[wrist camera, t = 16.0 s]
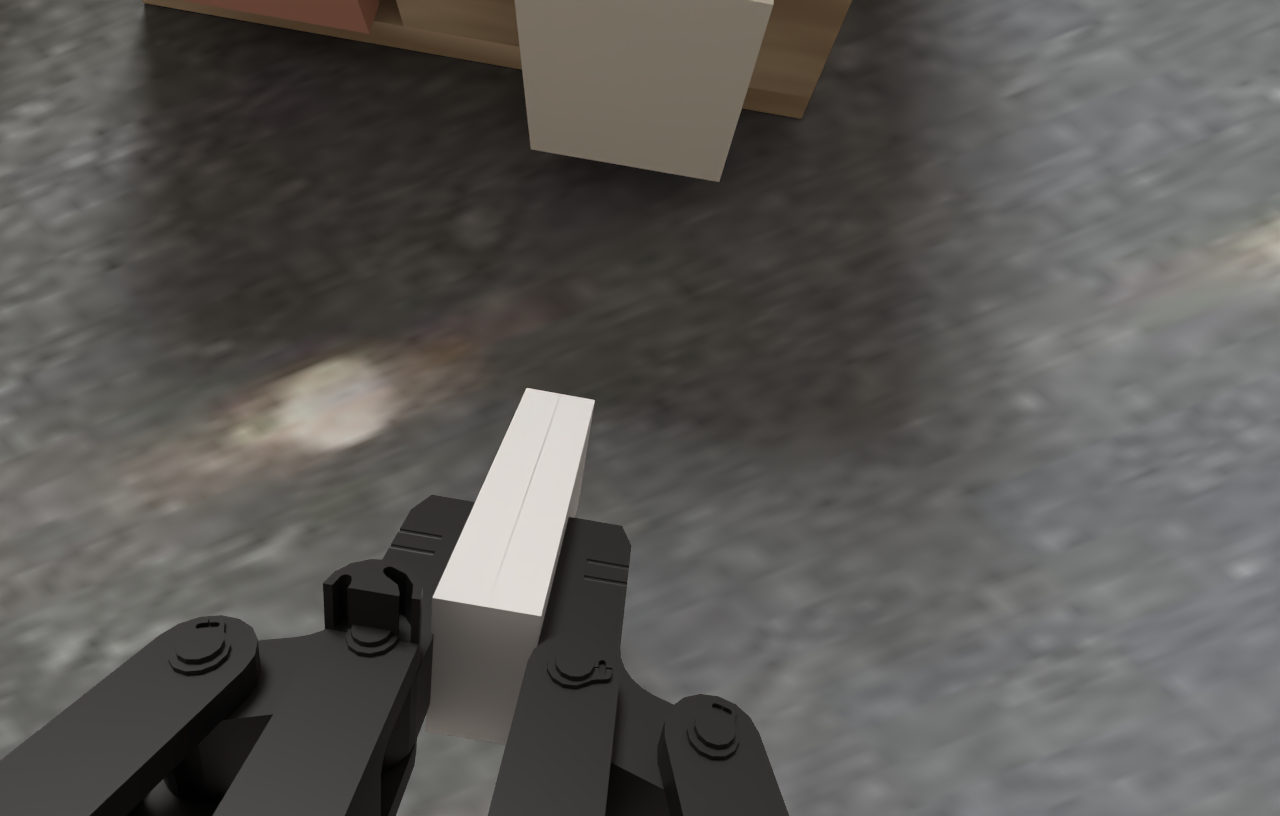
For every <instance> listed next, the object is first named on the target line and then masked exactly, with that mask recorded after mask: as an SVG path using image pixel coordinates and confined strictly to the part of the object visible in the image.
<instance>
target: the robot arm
mask: <svg viewBox="0 0 1280 816" xmlns="http://www.w3.org/2000/svg"><path fill="white" fill-rule="evenodd" d="M594 403H595V400H592V399H586V398H581V397H575V396H570V395H564V394H558V393H553V392H547V391H542V390H536V389H530V388H526V390H525V392H524V395H523V397H522V399H521V401H520V404H519V406H518V408H517V410H516V412H515V415H514V417H513V419H512V421H511V424H510V426H509V428H508V430H507V433H506V435H505V437H504V439H503V441H502V444H501V446H500V448H499V450H498V453H497V455H496V457H495V459H494V462H493V464H492V466H491V468H490V470H489V473H488V475H487V477H486V479H485V482H484V484H483V486H482V488H481V491H480V493H479V495H478V497H477V499H476V502H470V501H464V500H458V499H452V498H447V497H441V496H435V495H431V496H430V497H428V498H427V499H426V500H424V501H423V502H421V503H420V504H418V505H417V506H416V507H414V508H413V509H411V511H410V513H409V514H408V516H407V518H406V519H405V521H404V523H403V525H402V526H401V528H400V532H398V533H397V535H396V537H395V539H394V540H393V542H392V544H391V548H389V549H388V551H387V553H386V554H385V556H384V558H383V559H382V560H376V559H370V560H365V561H360V562H355V563H351V564H349V565H347V566H345V567H343V568H341V569H339V570H337V571H335V572H334V573H333V574H332V575H331V576H330V577H329V578H328V579H327V580H326V581H325V582H324V583H323V592H324V616H325V629H324V630H323V631H320V632H317V633H314V634H311V635H306V636H300V637H294V638H283V639H271V640H260V641H258V639H257V637H256V635H255V632H254V630H253V628H252V627H251V626H249V625H248V624H246V623H245V622H243V621H242V620H240V619H237V618H232V617H227V616H222V615H221V616H208V617H199V618H196V619H193V620H189V621H186V622H183V623H180V624H178V625H176V626H174V627H173V628H171V629H169V630H168V631H166V632H164V633H163V634H161V635H159V636H158V637H157V638H155V639H154V640H153V641H152V642H150V643H149V644H148V645H147V646H145V647H144V648H143V649H141V650H140V651H139V652H138V653H136V654H135V655H134V656H133V657H131V658H130V659H129V660H127V661H126V662H125V663H124V664H122V665H121V666H120V667H119V668H117V669H116V670H115V671H113V672H112V673H111V674H110V675H108V676H107V677H106V678H105V679H103V680H102V681H101V682H100V683H98V684H97V685H96V686H94V687H93V688H92V689H91V690H89V691H88V692H87V693H86V694H84V695H83V696H82V697H80V698H79V699H78V700H77V701H75V702H74V703H73V704H72V705H70V706H69V707H68V708H66V709H65V710H64V711H63V712H61V713H60V714H59V715H58V716H56V717H55V718H54V719H53V720H51V721H50V722H49V723H47V724H46V725H45V726H44V727H42V728H41V729H40V730H39V731H37V732H36V733H35V734H33V735H32V736H31V737H30V738H28V739H27V740H26V741H25V742H23V743H22V744H21V745H19V746H18V747H17V748H16V749H14V750H13V751H12V752H11V753H9V754H8V755H7V756H5V757H4V758H3V759H2V760H0V816H396V814H397V811H398V808H399V805H400V803H401V800H402V797H403V794H404V792H405V789H406V786H407V784H408V781H409V778H410V775H411V773H412V770H413V767H414V763H415V756H416V745H417V737H418V734H419V731H420V729H421V726H422V723H423V721H424V718H425V716H426V713H427V718H426V732H432V733H438V734H444V735H450V736H456V737H462V738H468V739H475V740H481V741H487V742H493V743H499V744H505V745H506V747H505V751H504V755H503V759H502V762H501V766H500V770H499V774H498V778H497V782H496V786H495V790H494V794H493V797H492V801H491V805H490V809H489V813H488V816H789V814H788V811H787V809H786V806H785V803H784V800H783V798H782V795H781V792H780V789H779V787H778V784H777V781H776V778H775V776H774V773H773V770H772V767H771V765H770V762H769V759H768V756H767V754H766V751H765V748H764V745H763V743H762V740H761V737H760V734H759V732H758V730H757V729H756V727H755V725H754V723H753V722H752V720H751V718H750V717H749V716H748V715H747V714H746V713H745V712H743V711H742V710H741V709H740V708H739V707H738V706H737V705H736V704H733V703H731V702H729V701H727V700H725V699H723V698H720V697H718V696H711V695H703V694H699V695H694V696H689V697H685V698H683V699H681V700H680V701H679V702H677V703H676V704H675V705H673V704H671V703H669V702H667V701H665V700H663V699H660V698H658V697H656V696H654V695H652V694H651V693H649V692H647V691H646V690H644V689H642V688H641V687H640V686H639V685H638V684H637V683H636V682H635V681H633V680H632V679H631V677H630V676H629V674H628V673H627V671H626V670H625V668H624V665H623V663H622V660H621V654H620V644H621V635H622V625H623V616H624V607H625V598H626V588H627V587H626V586H627V579H628V568H629V561H630V552H631V544H630V542H629V540H628V538H627V536H626V534H625V532H624V529H623V527H622V526H619V525H613V524H607V523H601V522H596V521H590V520H584V519H578V518H575V516H576V512H577V508H578V503H579V497H580V491H581V485H582V478H583V472H584V466H585V460H586V453H587V447H588V441H589V435H590V428H591V422H592V416H593V409H594Z"/></svg>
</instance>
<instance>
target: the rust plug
mask: <svg viewBox="0 0 1280 816" xmlns="http://www.w3.org/2000/svg"><path fill="white" fill-rule="evenodd" d="M183 1H186V2H192V3H197V4H203V5H209V6H214V7H220V8H226V9H231V10H237V11H243V12H248V13H254V14H260V15H265V16H271V17H277V18H282V19H288V20H293V21H299V22H305V23H310V24H316V25H322V26H327V27H333V28H339V29H344V30H350V31H356V32H361V33H367V34H370V31H371V28H372V24H373V21H374V18H375V15H376V12H377V9H378V6H379V0H183Z"/></svg>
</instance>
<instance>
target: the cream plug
mask: <svg viewBox="0 0 1280 816" xmlns="http://www.w3.org/2000/svg"><path fill="white" fill-rule="evenodd" d="M773 3H774V0H515V9H516V18H517V27H518V37H519V46H520V55H521V64H522V73H523V82H524V91H525V100H526V110H527V119H528V128H529V137H530V146H531V149H532V150H537V151H543V152H549V153H555V154H560V155H566V156H572V157H578V158H584V159H589V160H595V161H601V162H607V163H612V164H618V165H624V166H630V167H635V168H641V169H647V170H653V171H659V172H664V173H670V174H676V175H682V176H687V177H693V178H699V179H705V180H710V181H716V182H719V181H720V178H721V175H722V172H723V168H724V165H725V162H726V158H727V155H728V152H729V149H730V145H731V142H732V139H733V135H734V132H735V129H736V126H737V122H738V119H739V116H740V112H741V109H742V106H743V103H744V99H745V96H746V93H747V89H748V86H749V83H750V80H751V76H752V73H753V70H754V66H755V63H756V60H757V57H758V53H759V50H760V47H761V44H762V40H763V37H764V34H765V30H766V27H767V24H768V21H769V17H770V14H771V11H772V7H773Z"/></svg>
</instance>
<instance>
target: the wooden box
mask: <svg viewBox="0 0 1280 816" xmlns="http://www.w3.org/2000/svg"><path fill="white" fill-rule="evenodd" d="M142 1H143V3H147V4H152V5H158V6H164V7H169V8H175V9H181V10H186V11H192V12H198V13H203V14H209V15H215V16H220V17H226V18H232V19H237V20H243V21H249V22H254V23H260V24H266V25H271V26H277V27H283V28H288V29H294V30H300V31H305V32H311V33H317V34H322V35H328V36H334V37H339V38H345V39H351V40H357V41H362V42H368V43H374V44H379V45H385V46H391V47H396V48H402V49H408V50H413V51H419V52H425V53H430V54H436V55H442V56H447V57H453V58H459V59H464V60H470V61H476V62H481V63H487V64H493V65H498V66H504V67H510V68H515V69H521V70H522V64H521V55H520V46H519V37H518V27H517V18H516V9H515V0H379V6H378V9H377V12H376V15H375V18H374V21H373V24H372V28H371V31H370V34H367V33H361V32H356V31H350V30H344V29H339V28H333V27H327V26H322V25H316V24H310V23H305V22H299V21H293V20H288V19H282V18H277V17H271V16H265V15H260V14H254V13H248V12H243V11H237V10H231V9H226V8H220V7H214V6H209V5H203V4H197V3H192V2H186V1H183V0H142ZM851 2H852V0H774V3H773V7H772V11H771V14H770V17H769V21H768V24H767V27H766V30H765V34H764V37H763V40H762V44H761V47H760V50H759V53H758V57H757V60H756V63H755V66H754V70H753V73H752V76H751V80H750V83H749V86H748V89H747V93H746V96H745V99H744V103H743V106H742V109H748V110H754V111H759V112H765V113H771V114H776V115H782V116H788V117H793V118H799V119H802V117H803V114H804V112H805V110H806V107H807V105H808V103H809V100H810V98H811V96H812V93H813V91H814V89H815V86H816V84H817V82H818V79H819V77H820V75H821V72H822V70H823V68H824V65H825V63H826V61H827V58H828V56H829V54H830V51H831V49H832V47H833V44H834V42H835V40H836V37H837V35H838V33H839V30H840V28H841V26H842V23H843V21H844V19H845V16H846V14H847V12H848V9H849V7H850V5H851Z"/></svg>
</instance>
